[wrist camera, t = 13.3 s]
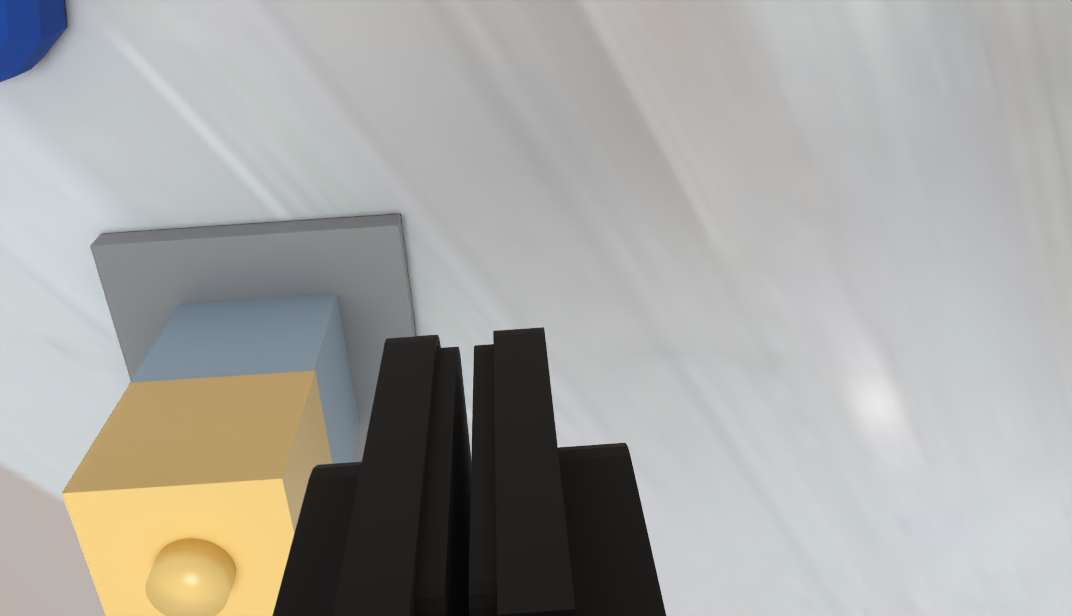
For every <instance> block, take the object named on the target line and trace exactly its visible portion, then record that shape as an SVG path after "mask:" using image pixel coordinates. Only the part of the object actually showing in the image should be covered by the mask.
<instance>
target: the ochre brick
mask: <svg viewBox="0 0 1072 616" xmlns="http://www.w3.org/2000/svg"><path fill="white" fill-rule="evenodd" d="M321 464H332V458H331V453H330V448H329V442H328V437H327V431H326V426H325V421H324V415H323V410H322V404H321V399H320V394H319V388H318V383H317V378H316V372H315V371H303V372H287V373H272V374H256V375H241V376H226V377H210V378H195V379H179V380H164V381H149V382H133V383H130V385H129V386H128V388H127V389H126V391H125V393H124V394H123V396H122V397H121V399H120V401H119V402H118V404H117V406H116V407H115V409H114V410H113V412H112V414H111V415H110V417H109V418H108V420H107V422H106V423H105V425H104V426H103V428H102V430H101V431H100V433H99V434H98V436H97V438H96V439H95V441H94V442H93V444H92V446H91V447H90V449H89V450H88V452H87V454H86V455H85V457H84V458H83V460H82V462H81V463H80V465H79V467H78V468H77V470H76V471H75V473H74V475H73V476H72V478H71V479H70V481H69V483H68V484H67V486H66V487H65V489H64V491H63V492H62V496H63V498H64V501H65V504H66V507H67V509H68V512H69V515H70V518H71V520H72V523H73V526H74V529H75V532H76V534H77V537H78V540H79V543H80V545H81V548H82V551H83V554H84V556H85V559H86V562H87V565H88V568H89V570H90V573H91V576H92V579H93V581H94V584H95V587H96V590H97V593H98V595H99V598H100V601H101V603H102V606H103V609H104V612H105V615H106V616H273V612H274V608H275V604H276V601H277V597H278V593H279V589H280V586H281V582H282V578H283V574H284V571H285V567H286V563H287V559H288V556H289V552H290V548H291V544H292V541H293V537H294V533H295V529H296V525H297V522H298V518H299V514H300V510H301V507H302V503H303V499H304V495H305V492H306V488H307V484H308V480H309V477H310V475H311V472H312V469H313V468H314V467H315V466H316V465H321Z"/></svg>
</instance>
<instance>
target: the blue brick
mask: <svg viewBox="0 0 1072 616" xmlns="http://www.w3.org/2000/svg"><path fill="white" fill-rule="evenodd" d="M303 371H315V372H316V378H317V383H318V388H319V394H320V399H321V404H322V410H323V415H324V421H325V426H326V431H327V437H328V442H329V448H330V453H331V458H332V464H335V463H349V462H352V457H353V452H354V447H355V442H356V438H357V433H358V428H359V419H358V413H357V407H356V401H355V395H354V389H353V383H352V378H351V372H350V366H349V360H348V354H347V348H346V342H345V336H344V331H343V325H342V319H341V313H340V307H339V301H338V295H337V294H326V295H311V296H296V297H282V298H267V299H252V300H237V301H222V302H208V303H193V304H179V305H178V307H177V308H176V310H175V311H174V313H173V315H172V316H171V318H170V319H169V321H168V323H167V324H166V326H165V327H164V329H163V331H162V332H161V334H160V335H159V337H158V339H157V340H156V342H155V343H154V345H153V347H152V348H151V350H150V351H149V353H148V355H147V356H146V358H145V359H144V361H143V363H142V364H141V366H140V367H139V369H138V371H137V372H136V374H135V375H134V377H133V379H132V380H131V382H130V383H133V382H149V381H164V380H179V379H195V378H210V377H226V376H241V375H256V374H272V373H287V372H303ZM130 383H129V385H130Z"/></svg>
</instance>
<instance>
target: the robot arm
mask: <svg viewBox="0 0 1072 616" xmlns="http://www.w3.org/2000/svg"><path fill="white" fill-rule="evenodd" d="M273 616H666V613H665V609H664V604H663V600H662V595H661V591H660V586H659V582H658V577H657V573H656V568H655V564H654V559H653V555H652V551H651V546H650V542H649V537H648V533H647V528H646V524H645V519H644V515H643V510H642V506H641V501H640V497H639V492H638V488H637V484H636V479H635V475H634V470H633V466H632V461H631V457H630V453H629V449H628V446H627V445H626V443H617V444H603V445H588V446H574V447H560V448H557V439H556V430H555V421H554V412H553V403H552V394H551V385H550V376H549V367H548V358H547V350H546V341H545V332H544V328H530V329H515V330H501V331H494V344H492V345H477V346H474V376H473V420H472V462H471V453H470V443H469V434H468V424H467V415H466V405H465V396H464V386H463V377H462V367H461V358H460V351H459V347H448V348H441V346H440V341H439V337H438V335H428V336H413V337H399V338H387V339H386V340H385V343H384V349H383V354H382V359H381V364H380V370H379V375H378V380H377V385H376V390H375V396H374V401H373V406H372V411H371V417H370V422H369V427H368V432H367V437H366V443H365V448H364V453H363V458H362V462H349V463H335V464H321V465H316V466H315V467H314V468H313V469H312V472H311V475H310V477H309V480H308V484H307V488H306V492H305V495H304V499H303V503H302V507H301V510H300V514H299V518H298V522H297V525H296V529H295V533H294V537H293V541H292V544H291V548H290V552H289V556H288V559H287V563H286V567H285V571H284V574H283V578H282V582H281V586H280V589H279V593H278V597H277V601H276V604H275V608H274V612H273Z"/></svg>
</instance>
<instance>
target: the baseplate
mask: <svg viewBox="0 0 1072 616" xmlns="http://www.w3.org/2000/svg"><path fill="white" fill-rule="evenodd" d="M90 247H91V250H92V254H93V257H94V260H95V264H96V267H97V270H98V274H99V277H100V280H101V284H102V287H103V290H104V293H105V297H106V300H107V303H108V307H109V310H110V313H111V317H112V320H113V323H114V327H115V330H116V333H117V337H118V340H119V343H120V347H121V350H122V353H123V356H124V360H125V363H126V366H127V370H128V373H129V376H130V380H132V379H133V377H134V375H135V374H136V372H137V371H138V369H139V367H140V366H141V364H142V363H143V361H144V359H145V358H146V356H147V355H148V353H149V351H150V350H151V348H152V347H153V345H154V343H155V342H156V340H157V339H158V337H159V335H160V334H161V332H162V331H163V329H164V327H165V326H166V324H167V323H168V321H169V319H170V318H171V316H172V315H173V313H174V311H175V310H176V308H177V307H178V305H179V304H193V303H208V302H222V301H237V300H252V299H267V298H282V297H296V296H311V295H326V294H337V295H338V301H339V307H340V313H341V319H342V325H343V331H344V336H345V342H346V348H347V354H348V360H349V366H350V372H351V378H352V383H353V389H354V395H355V401H356V407H357V413H358V419H359V428H358V433H357V438H356V442H355V447H354V452H353V457H352V462H362V458H363V453H364V448H365V443H366V437H367V432H368V427H369V422H370V417H371V411H372V406H373V401H374V396H375V390H376V385H377V380H378V375H379V370H380V364H381V359H382V354H383V349H384V343H385V340H386V339H387V338H399V337H413V336H416V331H415V324H414V316H413V308H412V300H411V293H410V285H409V277H408V269H407V262H406V254H405V246H404V239H403V231H402V223H401V215H400V214H391V215H376V216H361V217H345V218H330V219H315V220H300V221H285V222H270V223H255V224H240V225H225V226H210V227H195V228H180V229H165V230H150V231H135V232H120V233H105V234H101V235H100V236H99V237H98V238H97V239H96V240H95V241H94V242H93V243H92V244H91V246H90Z"/></svg>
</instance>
